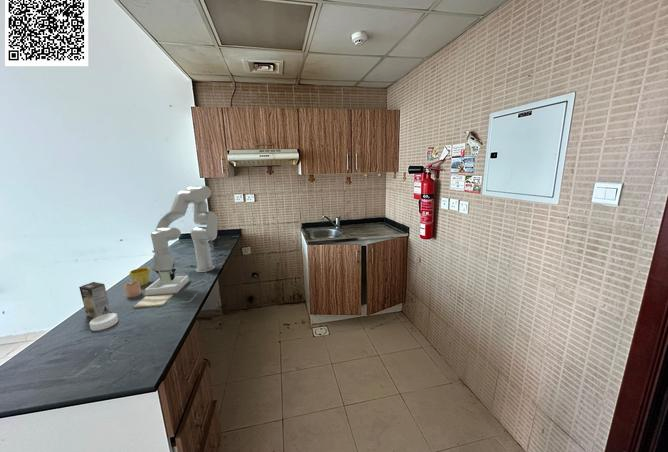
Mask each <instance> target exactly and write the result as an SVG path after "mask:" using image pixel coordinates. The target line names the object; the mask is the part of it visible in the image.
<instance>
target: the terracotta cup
mask: <svg viewBox="0 0 668 452" xmlns="http://www.w3.org/2000/svg"><path fill="white" fill-rule="evenodd" d="M141 287H142V286H140V282H139V281H133V280H132V281H128V282H126V283H124V291H125V296H126V298H127V299H129V298H130V299H131V298H137V297H139V296H141V295H142V293H143V292H142V288H141Z"/></svg>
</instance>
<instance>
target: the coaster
mask: <svg viewBox="0 0 668 452" xmlns="http://www.w3.org/2000/svg"><path fill="white" fill-rule="evenodd" d="M118 321H119V319H118V314H117V313H114V312H112V313H108V314H104V315H101V316H98V317H96V318H92V319H91V320H90V321H89V328H90V330H91V331H93V332H95V331H102V330H106V329H108V328H111V327H112V326H114V325H116V324H117V323H118Z"/></svg>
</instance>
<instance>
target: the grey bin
mask: <svg viewBox="0 0 668 452" xmlns="http://www.w3.org/2000/svg"><path fill="white" fill-rule="evenodd" d="M189 279H190V278H189V275H180V276H179V275H178V276H175V278H174V280H173V281H172V282H171V283H162V281H161V279H160V277H159V278H157V280H155V281H154V282H153V283H151V284H150V285H149V286H147V287H146V288H145V289H144V295H145V297H146V296H155V295H166V294H178V292H179V291H181V289H182V288H183V287H185V286H186V285H187V284H188V283H189V281H190V280H189Z"/></svg>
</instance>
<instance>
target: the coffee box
mask: <svg viewBox="0 0 668 452" xmlns="http://www.w3.org/2000/svg"><path fill="white" fill-rule="evenodd" d="M78 288H79V292H80V297H81V299H82V303H83V307H84V312H85V314H86V317H88V318H89V317H90V318H92V319H94V318H96V317H98V316H101V315H104V314H108V313H111V306H110V302H109V299H108V294H107V289H106V285H105V283H102V282H96V281H92V282H89V283H87V284H84V285H81V286H79V287H78Z"/></svg>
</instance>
